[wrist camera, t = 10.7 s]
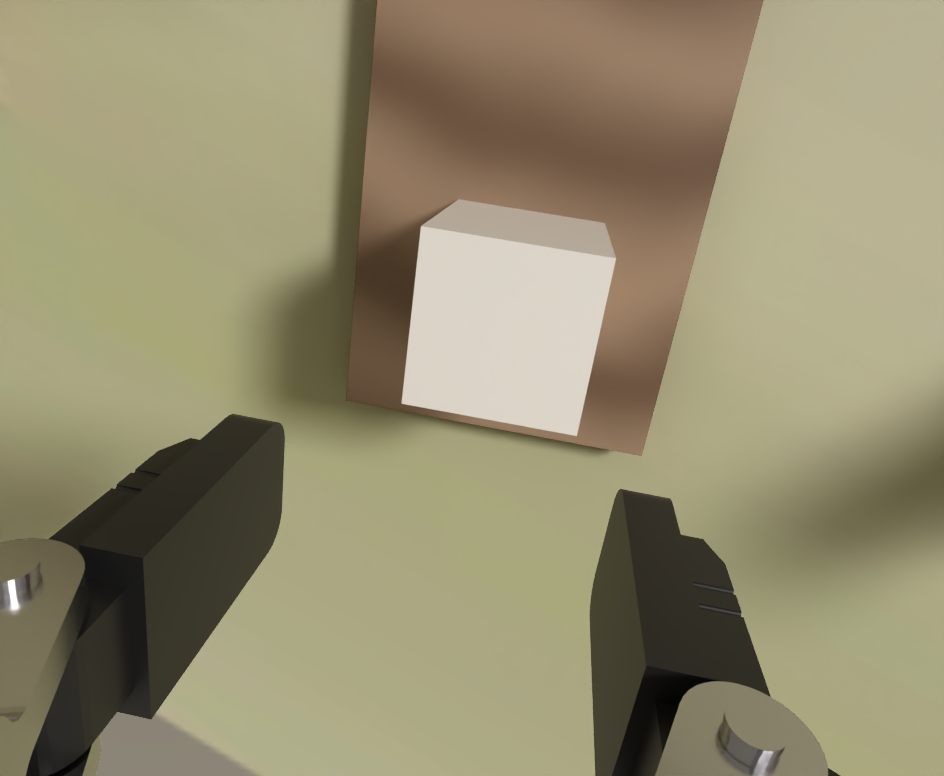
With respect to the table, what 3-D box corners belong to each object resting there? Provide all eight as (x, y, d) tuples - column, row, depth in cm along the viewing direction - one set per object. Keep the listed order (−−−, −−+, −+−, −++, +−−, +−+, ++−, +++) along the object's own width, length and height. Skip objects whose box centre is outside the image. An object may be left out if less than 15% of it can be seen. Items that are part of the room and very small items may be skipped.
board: (415, -319, 20) (404, -351, 19) (825, -274, 20) (845, -305, 18) (356, 387, 29) (346, 400, 28) (638, 439, 28) (641, 455, 27)
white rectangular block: (458, 199, 24) (420, 225, 18) (604, 223, 24) (616, 258, 18) (440, 337, 26) (401, 403, 20) (575, 361, 26) (576, 436, 20)
